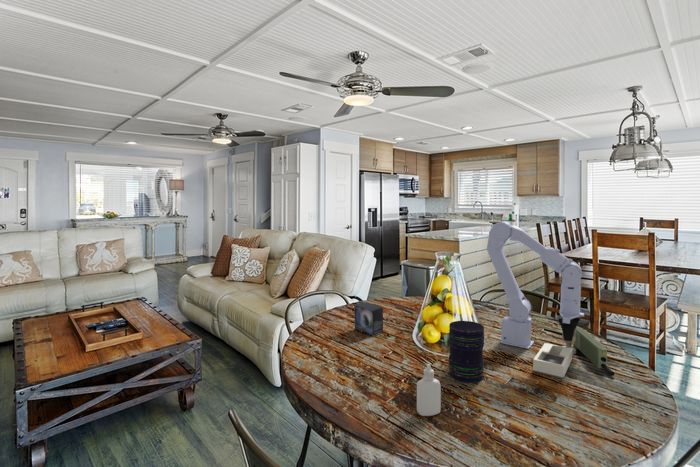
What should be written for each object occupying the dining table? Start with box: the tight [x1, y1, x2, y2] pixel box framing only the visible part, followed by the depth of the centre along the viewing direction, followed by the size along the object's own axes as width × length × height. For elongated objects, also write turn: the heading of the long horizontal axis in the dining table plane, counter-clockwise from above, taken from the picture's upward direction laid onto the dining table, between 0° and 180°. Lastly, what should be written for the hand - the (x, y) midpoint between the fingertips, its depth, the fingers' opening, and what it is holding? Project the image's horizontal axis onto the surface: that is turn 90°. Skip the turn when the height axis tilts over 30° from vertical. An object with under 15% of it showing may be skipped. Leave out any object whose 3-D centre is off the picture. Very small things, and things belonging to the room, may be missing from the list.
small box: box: [353, 301, 384, 336], centre depth 149 cm, size 11×6×10 cm, turn 42°
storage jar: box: [448, 320, 485, 384], centre depth 110 cm, size 10×10×15 cm
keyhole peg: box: [561, 329, 577, 355], centre depth 127 cm, size 4×4×8 cm
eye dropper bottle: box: [416, 363, 442, 417], centre depth 92 cm, size 4×6×12 cm
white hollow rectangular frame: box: [532, 342, 574, 380], centre depth 117 cm, size 16×8×4 cm, turn 142°
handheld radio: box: [572, 326, 616, 377], centre depth 120 cm, size 7×3×25 cm
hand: (569, 338), depth 126 cm, fingers closed on keyhole peg, 3 cm apart
